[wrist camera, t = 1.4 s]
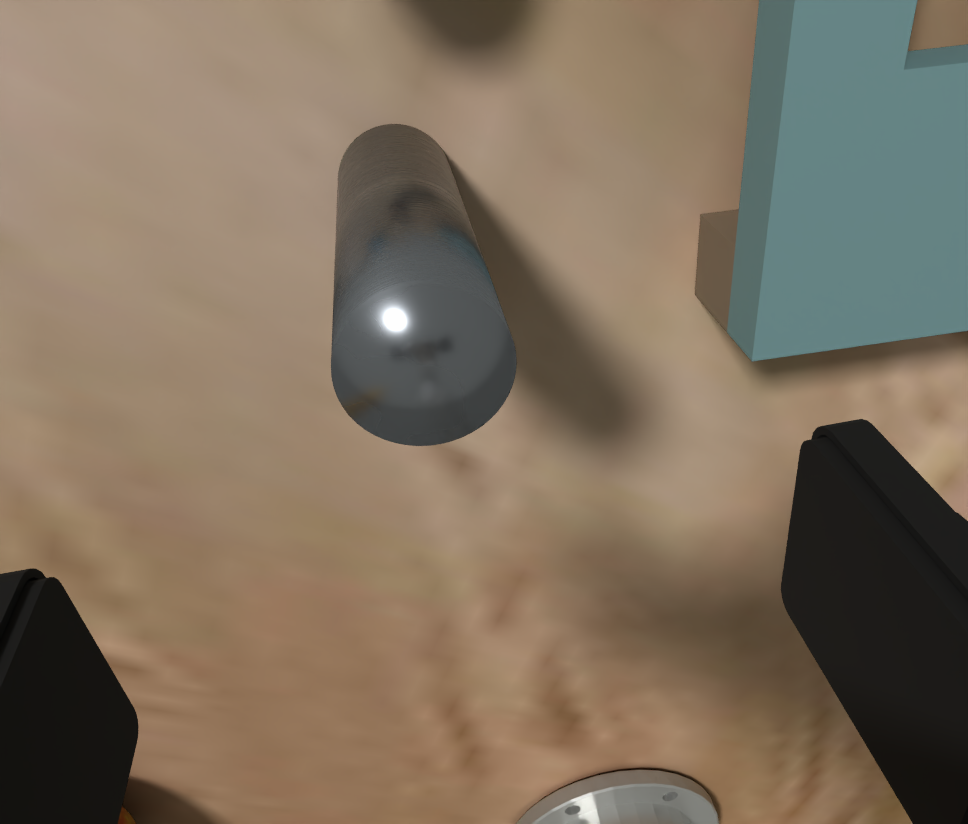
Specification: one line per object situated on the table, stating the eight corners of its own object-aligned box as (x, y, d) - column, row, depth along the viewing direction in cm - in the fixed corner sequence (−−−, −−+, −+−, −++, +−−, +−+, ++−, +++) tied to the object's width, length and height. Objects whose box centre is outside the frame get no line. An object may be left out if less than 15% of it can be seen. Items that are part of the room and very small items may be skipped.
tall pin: (472, 198, 26) (547, 388, 16) (380, 256, 27) (399, 473, 17) (412, 100, 24) (454, 247, 15) (314, 165, 25) (292, 349, 15)
